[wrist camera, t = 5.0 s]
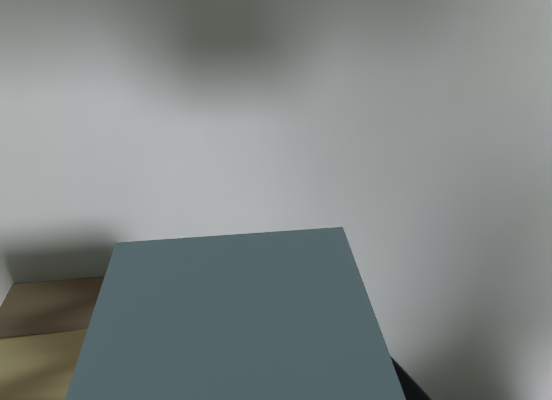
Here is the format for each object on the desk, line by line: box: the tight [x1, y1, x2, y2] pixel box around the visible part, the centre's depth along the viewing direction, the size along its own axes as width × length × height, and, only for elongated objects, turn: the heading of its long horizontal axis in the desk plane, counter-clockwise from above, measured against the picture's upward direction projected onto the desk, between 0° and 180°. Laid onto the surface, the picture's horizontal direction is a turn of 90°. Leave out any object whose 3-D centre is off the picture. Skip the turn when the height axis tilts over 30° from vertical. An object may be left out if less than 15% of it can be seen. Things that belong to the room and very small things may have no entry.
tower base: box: [0, 276, 105, 339], centre depth 23 cm, size 6×6×4 cm
